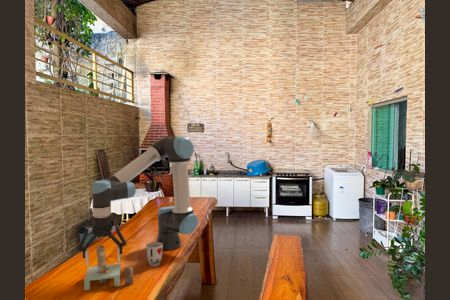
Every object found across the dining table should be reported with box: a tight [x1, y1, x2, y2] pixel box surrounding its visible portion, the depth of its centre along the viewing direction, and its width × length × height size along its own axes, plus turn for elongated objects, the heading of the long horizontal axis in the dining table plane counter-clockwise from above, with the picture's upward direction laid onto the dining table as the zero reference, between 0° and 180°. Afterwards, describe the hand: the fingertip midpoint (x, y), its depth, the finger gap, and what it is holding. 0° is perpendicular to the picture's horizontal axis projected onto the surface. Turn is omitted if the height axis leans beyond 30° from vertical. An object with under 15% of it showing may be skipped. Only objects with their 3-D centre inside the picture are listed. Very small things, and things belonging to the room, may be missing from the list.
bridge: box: [83, 263, 122, 291], centre depth 138 cm, size 14×12×5 cm
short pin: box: [124, 266, 134, 286], centre depth 136 cm, size 3×3×7 cm
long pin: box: [96, 244, 108, 284], centre depth 137 cm, size 3×3×16 cm
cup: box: [146, 241, 163, 267], centre depth 156 cm, size 8×8×10 cm
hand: (103, 263), depth 137 cm, fingers open, 13 cm apart
